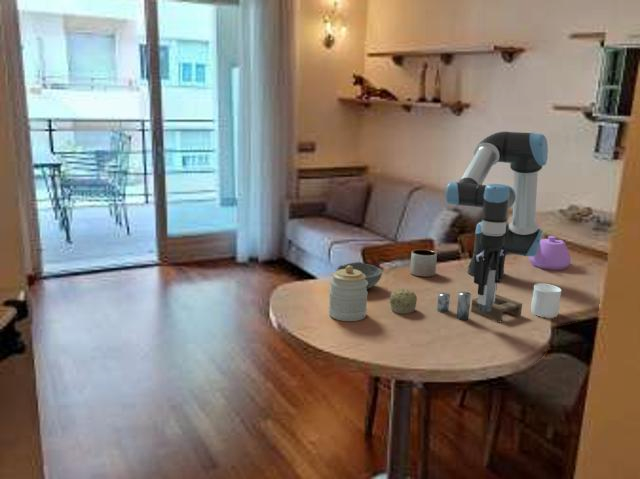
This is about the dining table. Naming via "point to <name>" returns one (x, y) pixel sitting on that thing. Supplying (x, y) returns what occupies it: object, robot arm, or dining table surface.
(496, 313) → the block
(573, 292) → the dining table surface
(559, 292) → the cup
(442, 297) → the short pin
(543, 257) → the teapot
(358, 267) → the bowl
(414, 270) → the planter
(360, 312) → the jar
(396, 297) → the decorative item
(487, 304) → the long pin
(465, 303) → the medium pin
